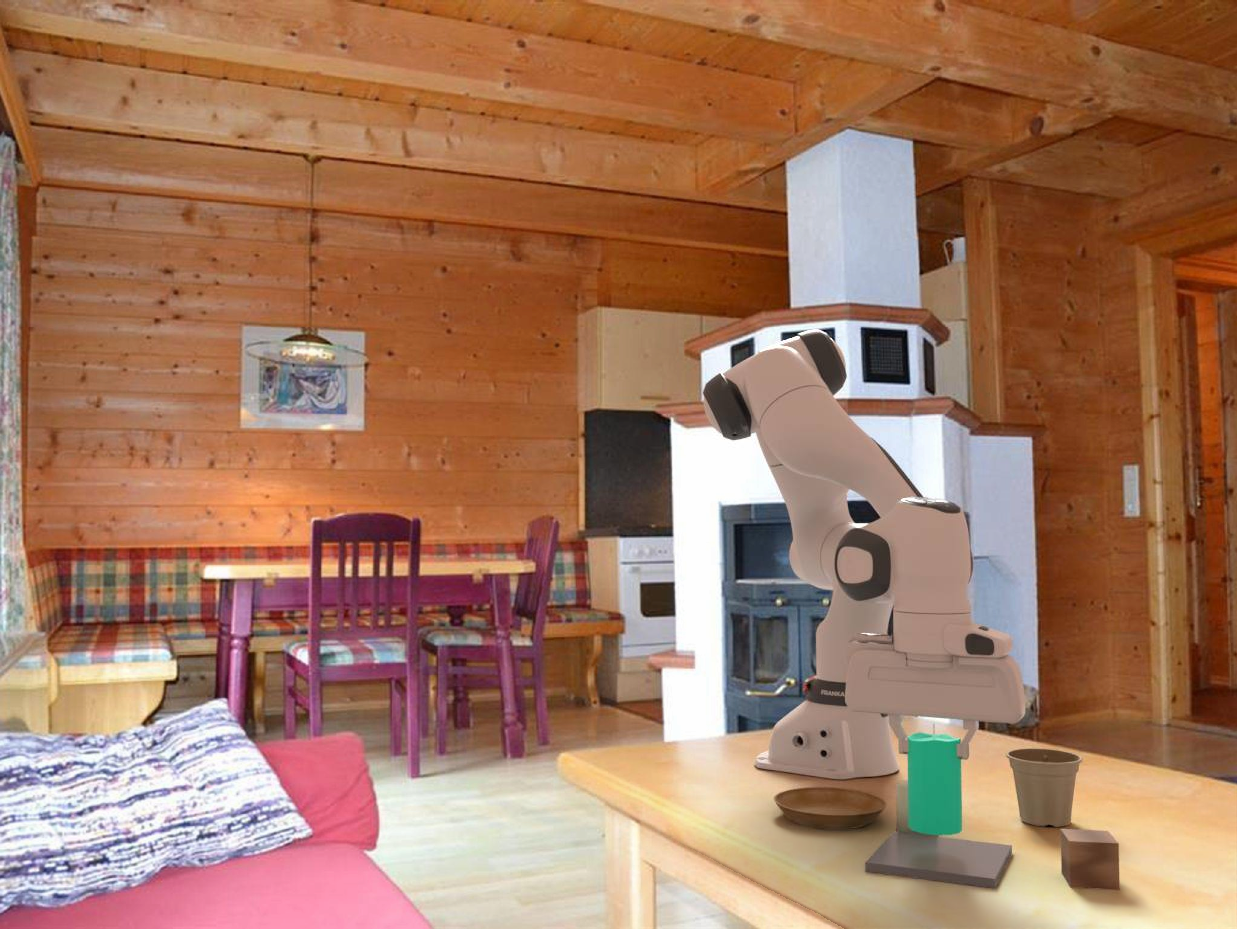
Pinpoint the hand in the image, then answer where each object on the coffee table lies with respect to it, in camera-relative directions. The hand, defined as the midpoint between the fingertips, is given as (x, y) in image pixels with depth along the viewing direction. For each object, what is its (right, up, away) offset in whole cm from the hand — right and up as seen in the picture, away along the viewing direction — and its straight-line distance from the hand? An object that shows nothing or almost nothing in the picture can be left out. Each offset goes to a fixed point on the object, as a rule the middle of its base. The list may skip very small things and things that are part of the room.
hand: (933, 756), depth 132 cm
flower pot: (+19, -13, +17) cm, 29 cm away
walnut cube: (+15, -12, -8) cm, 21 cm away
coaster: (+1, -12, -1) cm, 12 cm away
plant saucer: (-8, -14, +19) cm, 25 cm away
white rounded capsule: (+1, -13, +12) cm, 17 cm away
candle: (0, -9, 0) cm, 9 cm away
